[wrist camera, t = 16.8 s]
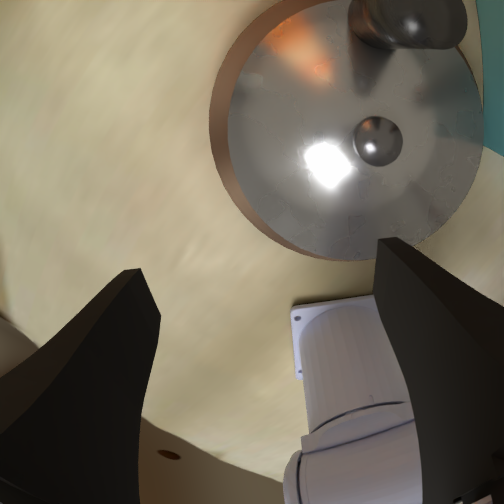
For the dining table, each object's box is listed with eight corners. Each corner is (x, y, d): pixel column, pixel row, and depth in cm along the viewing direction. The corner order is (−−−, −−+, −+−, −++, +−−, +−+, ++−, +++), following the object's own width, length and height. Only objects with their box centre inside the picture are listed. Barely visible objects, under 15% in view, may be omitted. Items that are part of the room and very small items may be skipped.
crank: (448, 247, 18) (492, 304, 13) (237, 254, 18) (233, 329, 14) (480, 27, 10) (552, 33, 5) (220, -12, 10) (203, -53, 6)
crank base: (457, 236, 19) (466, 245, 18) (238, 264, 21) (238, 277, 20) (466, 9, 11) (478, 8, 10) (188, 5, 12) (183, 1, 11)
